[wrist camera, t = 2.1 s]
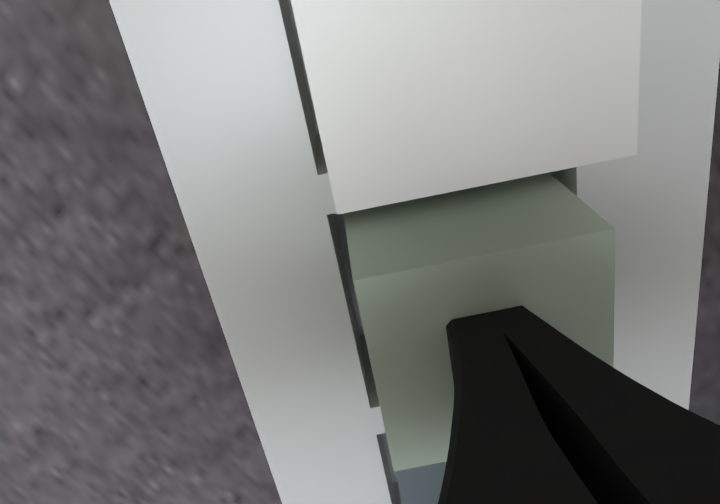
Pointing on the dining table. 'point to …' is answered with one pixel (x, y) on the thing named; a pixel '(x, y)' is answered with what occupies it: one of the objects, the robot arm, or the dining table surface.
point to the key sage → (471, 289)
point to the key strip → (328, 233)
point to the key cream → (466, 91)
